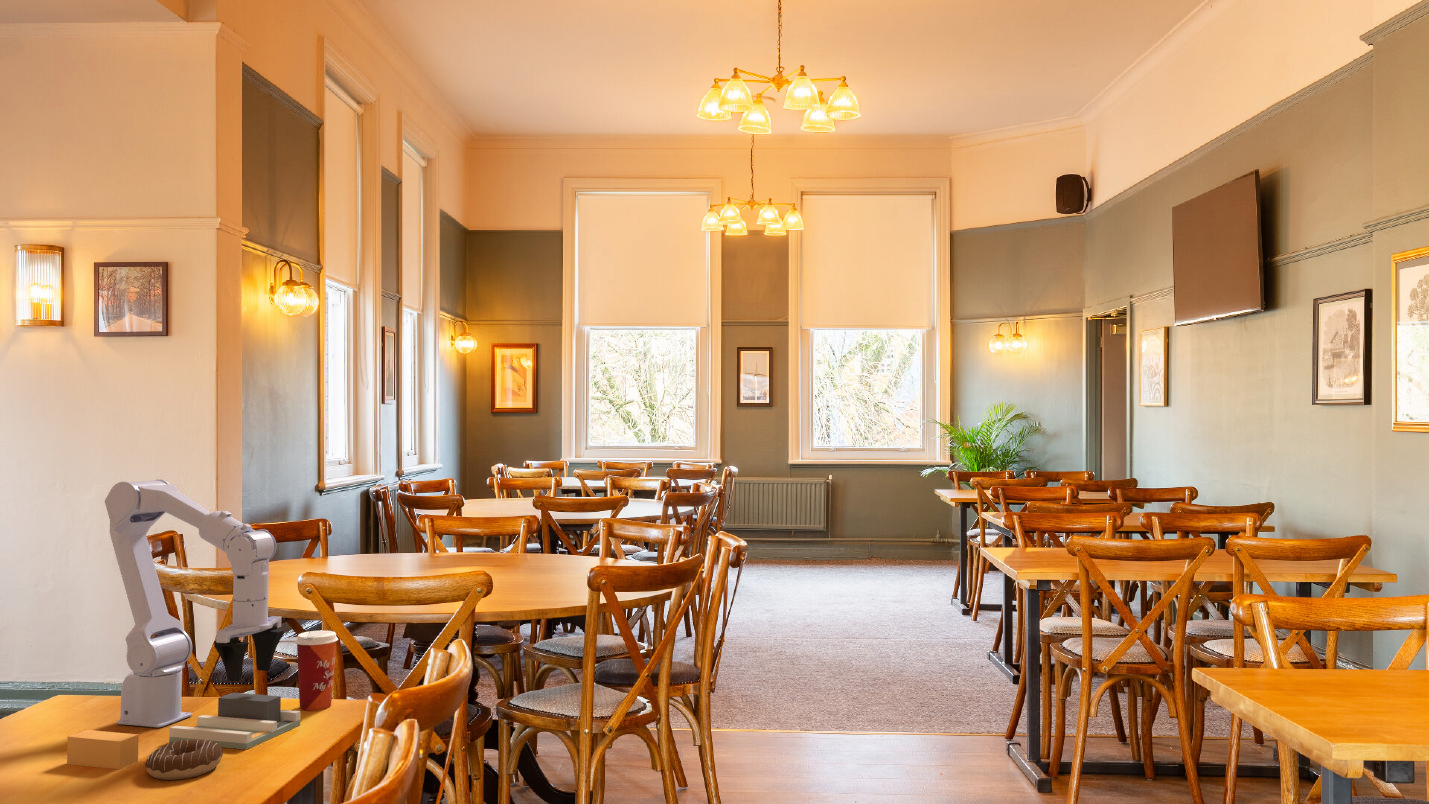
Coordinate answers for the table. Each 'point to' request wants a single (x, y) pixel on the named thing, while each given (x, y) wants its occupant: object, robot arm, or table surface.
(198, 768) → the donut
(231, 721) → the comb board
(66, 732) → the table surface
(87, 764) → the wooden block
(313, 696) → the paper cup
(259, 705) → the dark grey block
